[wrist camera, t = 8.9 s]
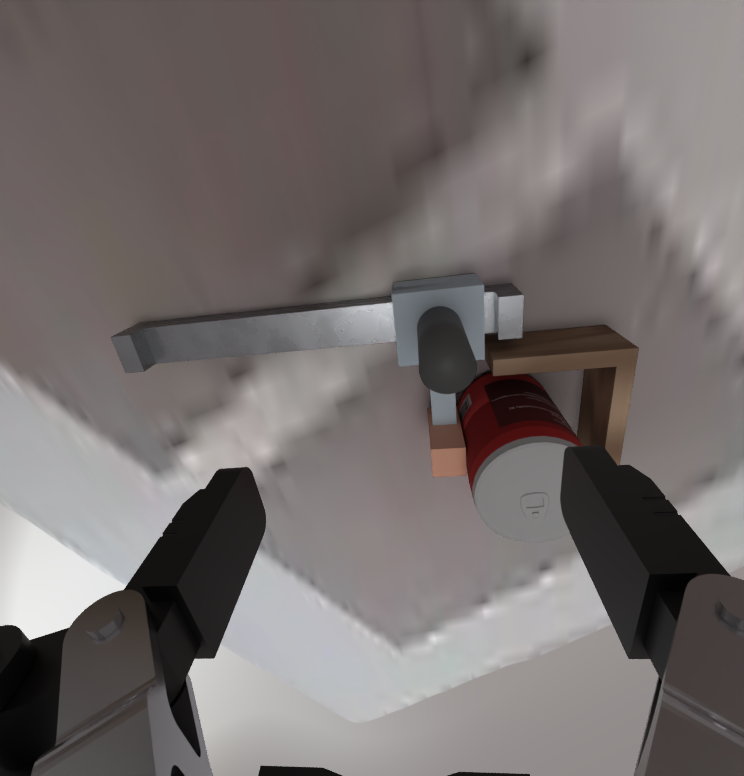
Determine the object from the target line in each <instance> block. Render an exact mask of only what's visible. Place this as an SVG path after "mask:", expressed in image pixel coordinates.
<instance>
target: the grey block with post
mask: <svg viewBox="0 0 744 776" xmlns="http://www.w3.org/2000/svg"><path fill="white" fill-rule="evenodd" d="M391 296H392V306H393V315H394V324H395V334H396V343H397V353H398V362H399V367H402V366H414V365H419V373H420V377H421V379H422V381H423V383H424V384H425V385H426V386H427V387H428V388H429V389H430V396H431V408H428V421H429V434H430V447H431V459H432V472H433V477H446V476H467V471H466V446H465V442H464V437H463V432H462V428H461V423H460V419H459V414H458V409H457V406H456V398H455V393H457V392H460V391H462V390H463V389H465V388H466V387H467V386H469V385H470V383H471V382H472V381H473V379H474V377H475V375H476V371H477V362H476V360H485V326H484V284H483V283H482V281H481V280H480V279H479V277H478V276H477V275H476V273H474V274H465V275H456V276H447V277H438V278H429V279H420V280H411V281H402V282H393V288H392V294H391Z"/></svg>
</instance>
